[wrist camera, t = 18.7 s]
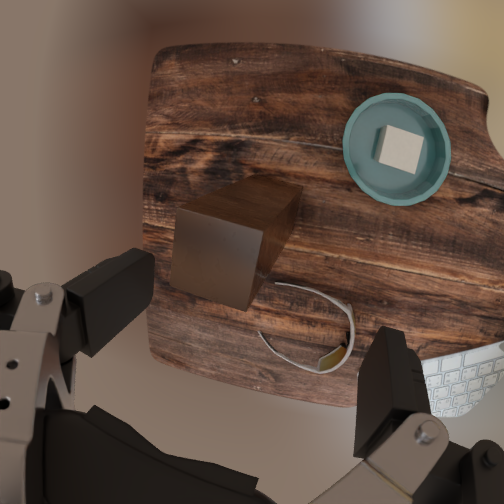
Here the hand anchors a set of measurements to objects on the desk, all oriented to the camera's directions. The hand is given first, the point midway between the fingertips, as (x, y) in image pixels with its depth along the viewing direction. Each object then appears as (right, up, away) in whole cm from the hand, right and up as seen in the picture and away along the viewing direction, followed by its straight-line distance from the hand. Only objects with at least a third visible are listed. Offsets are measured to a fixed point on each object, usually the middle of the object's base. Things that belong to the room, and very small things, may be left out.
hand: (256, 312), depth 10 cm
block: (+18, +15, +26) cm, 35 cm away
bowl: (+18, +16, +26) cm, 36 cm away
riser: (+3, +9, +34) cm, 35 cm away
